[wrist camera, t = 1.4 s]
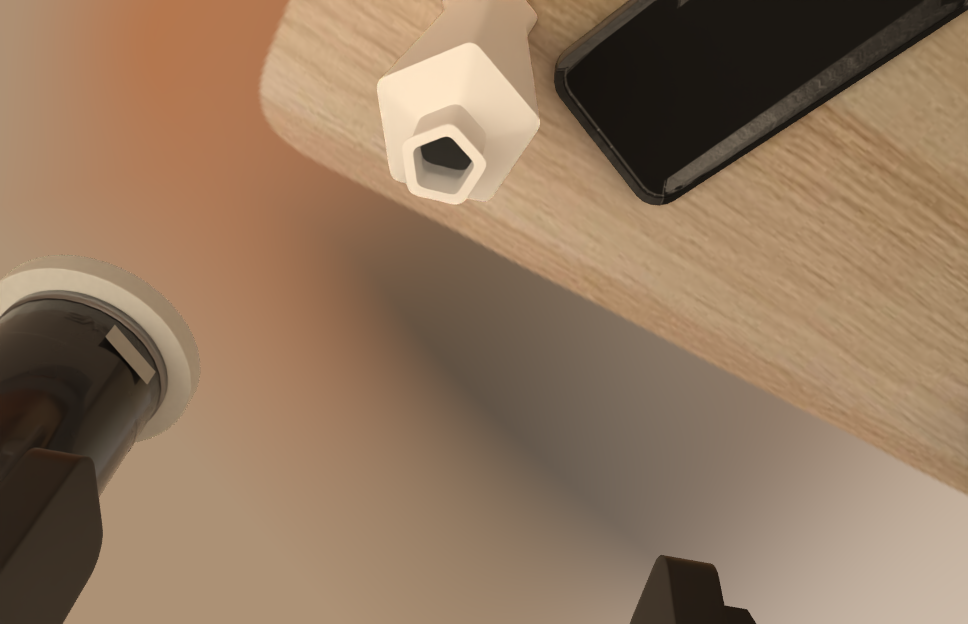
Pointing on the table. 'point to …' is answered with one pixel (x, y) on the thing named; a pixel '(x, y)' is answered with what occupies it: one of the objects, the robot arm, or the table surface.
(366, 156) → the table surface
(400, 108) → the cream faceted bottle shape
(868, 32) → the phone
